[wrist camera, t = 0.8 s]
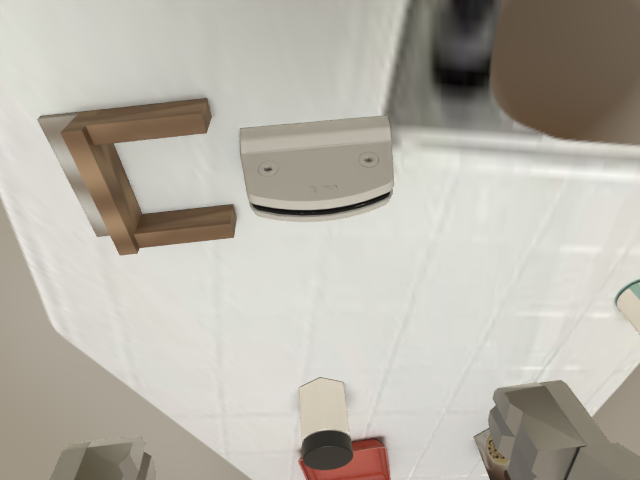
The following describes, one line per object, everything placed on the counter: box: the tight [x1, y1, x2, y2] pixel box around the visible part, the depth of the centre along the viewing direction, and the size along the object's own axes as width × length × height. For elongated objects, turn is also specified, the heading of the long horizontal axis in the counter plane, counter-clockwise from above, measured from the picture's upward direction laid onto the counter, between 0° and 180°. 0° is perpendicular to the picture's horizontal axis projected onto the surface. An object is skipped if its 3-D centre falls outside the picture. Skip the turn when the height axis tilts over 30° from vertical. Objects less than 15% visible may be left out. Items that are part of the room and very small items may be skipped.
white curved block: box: [240, 115, 394, 222], centre depth 46 cm, size 17×5×10 cm, turn 94°
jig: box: [37, 98, 237, 255], centre depth 47 cm, size 15×17×5 cm
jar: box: [299, 378, 353, 470], centre depth 73 cm, size 9×8×12 cm
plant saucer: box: [299, 439, 391, 480], centre depth 94 cm, size 18×18×3 cm
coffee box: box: [474, 429, 511, 480], centre depth 85 cm, size 9×6×16 cm
